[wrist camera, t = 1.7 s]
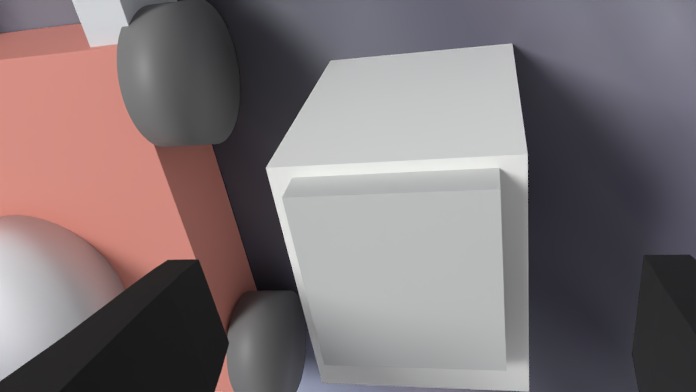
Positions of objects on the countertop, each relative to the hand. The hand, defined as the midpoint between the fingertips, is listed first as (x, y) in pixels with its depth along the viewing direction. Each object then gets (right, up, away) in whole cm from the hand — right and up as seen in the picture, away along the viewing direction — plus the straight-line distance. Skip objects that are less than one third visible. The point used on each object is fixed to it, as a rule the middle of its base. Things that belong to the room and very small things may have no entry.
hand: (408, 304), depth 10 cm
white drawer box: (+1, +3, +4) cm, 5 cm away
